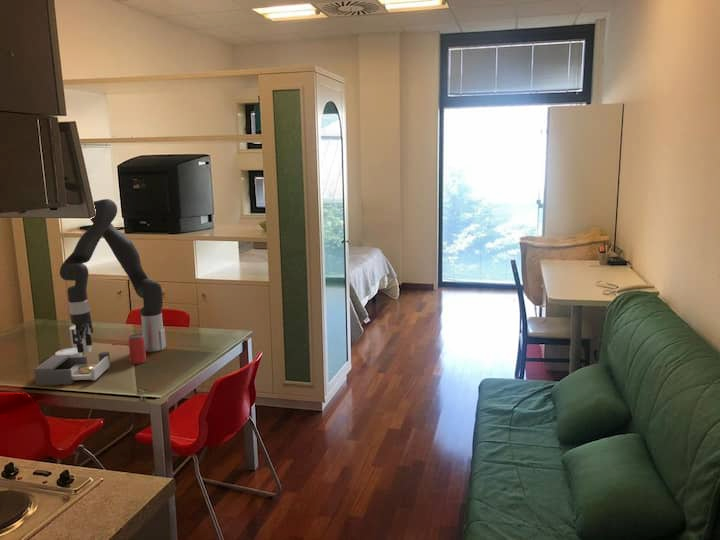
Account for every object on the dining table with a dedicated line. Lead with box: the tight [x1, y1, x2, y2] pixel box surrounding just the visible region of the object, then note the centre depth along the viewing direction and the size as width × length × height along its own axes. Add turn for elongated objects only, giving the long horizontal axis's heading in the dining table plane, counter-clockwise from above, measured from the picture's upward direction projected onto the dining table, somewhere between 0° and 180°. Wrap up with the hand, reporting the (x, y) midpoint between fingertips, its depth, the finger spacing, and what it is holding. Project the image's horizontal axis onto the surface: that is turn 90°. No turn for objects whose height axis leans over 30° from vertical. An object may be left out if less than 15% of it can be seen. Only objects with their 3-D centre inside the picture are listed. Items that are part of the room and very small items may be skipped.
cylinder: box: [97, 351, 111, 365], centre depth 260 cm, size 4×4×5 cm
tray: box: [70, 356, 111, 381], centre depth 246 cm, size 14×16×5 cm
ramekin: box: [54, 347, 83, 357], centre depth 264 cm, size 11×11×5 cm
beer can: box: [128, 333, 147, 365], centre depth 262 cm, size 7×7×12 cm
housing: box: [33, 354, 88, 386], centre depth 246 cm, size 14×16×7 cm
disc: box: [78, 365, 94, 374], centre depth 246 cm, size 6×6×2 cm
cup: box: [69, 324, 92, 355], centre depth 277 cm, size 8×8×12 cm
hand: (85, 348), depth 244 cm, fingers open, 8 cm apart
